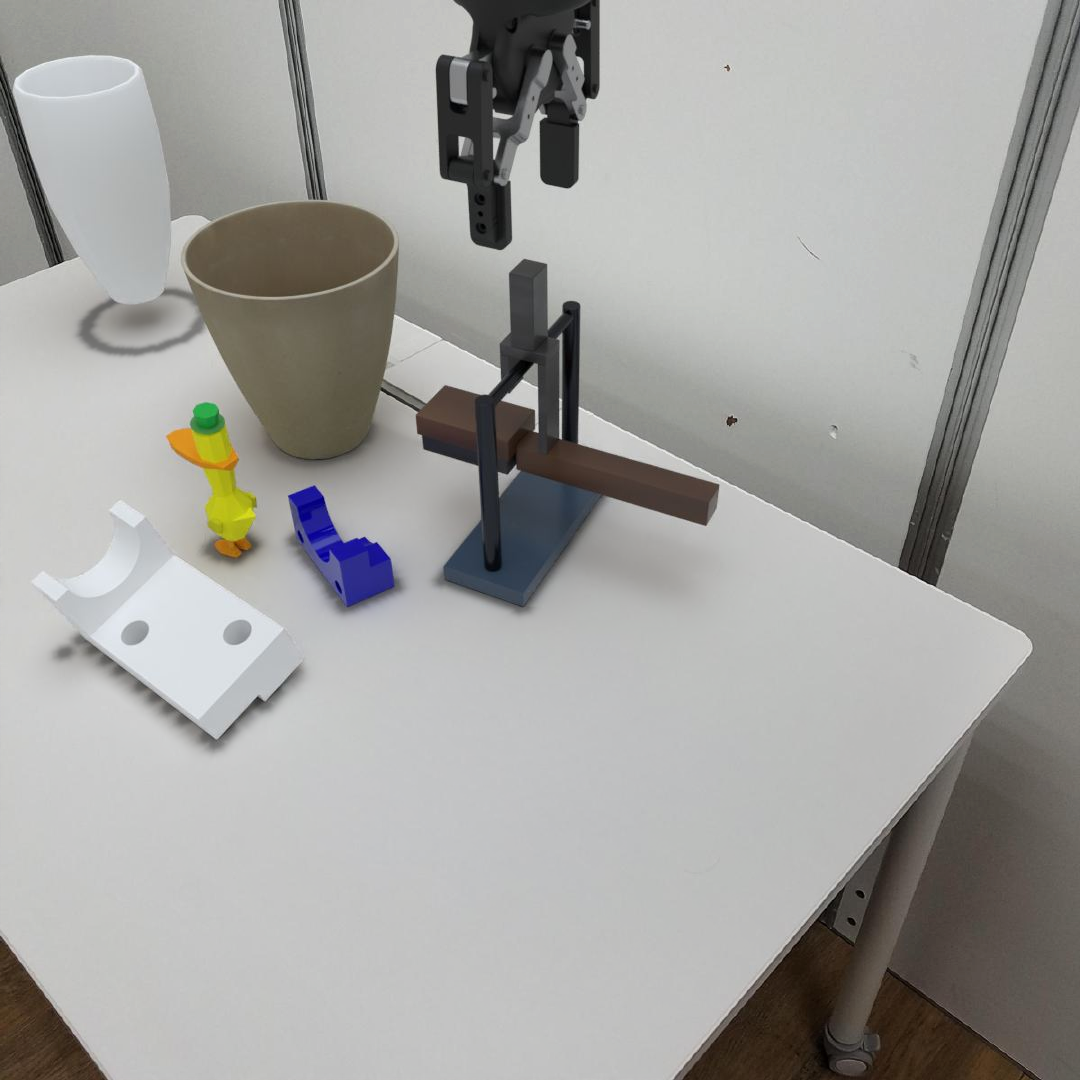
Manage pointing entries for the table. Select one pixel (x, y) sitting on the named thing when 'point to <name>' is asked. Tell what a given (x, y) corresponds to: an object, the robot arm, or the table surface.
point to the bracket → (174, 626)
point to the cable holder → (339, 550)
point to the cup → (101, 168)
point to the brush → (552, 422)
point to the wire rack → (523, 493)
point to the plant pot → (300, 315)
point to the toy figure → (217, 477)
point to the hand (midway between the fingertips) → (527, 213)
